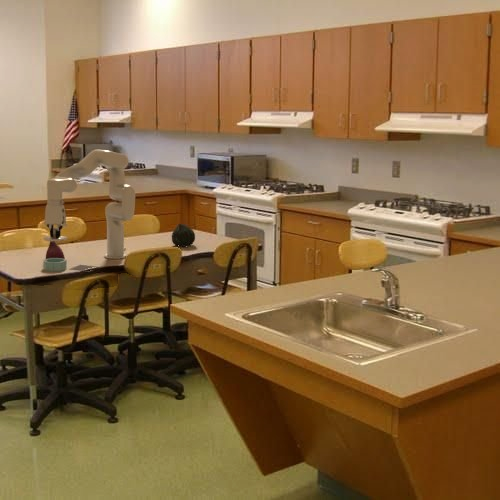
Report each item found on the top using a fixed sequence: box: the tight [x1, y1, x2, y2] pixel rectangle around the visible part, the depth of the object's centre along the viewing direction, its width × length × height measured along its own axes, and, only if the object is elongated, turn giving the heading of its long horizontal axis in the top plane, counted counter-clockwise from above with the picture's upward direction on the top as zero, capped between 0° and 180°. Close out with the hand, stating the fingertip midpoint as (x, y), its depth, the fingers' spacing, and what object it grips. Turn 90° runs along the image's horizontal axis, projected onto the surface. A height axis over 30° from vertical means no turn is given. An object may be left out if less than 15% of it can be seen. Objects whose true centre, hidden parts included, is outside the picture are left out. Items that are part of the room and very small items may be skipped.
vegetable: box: [45, 241, 66, 260], centre depth 399 cm, size 10×10×15 cm
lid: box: [42, 227, 68, 242], centre depth 382 cm, size 12×12×6 cm
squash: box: [171, 223, 196, 247], centre depth 459 cm, size 14×15×15 cm
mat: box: [68, 264, 97, 273], centre depth 389 cm, size 12×12×1 cm
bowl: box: [42, 258, 67, 273], centre depth 385 cm, size 11×11×5 cm
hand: (55, 237), depth 382 cm, fingers closed on lid, 2 cm apart
